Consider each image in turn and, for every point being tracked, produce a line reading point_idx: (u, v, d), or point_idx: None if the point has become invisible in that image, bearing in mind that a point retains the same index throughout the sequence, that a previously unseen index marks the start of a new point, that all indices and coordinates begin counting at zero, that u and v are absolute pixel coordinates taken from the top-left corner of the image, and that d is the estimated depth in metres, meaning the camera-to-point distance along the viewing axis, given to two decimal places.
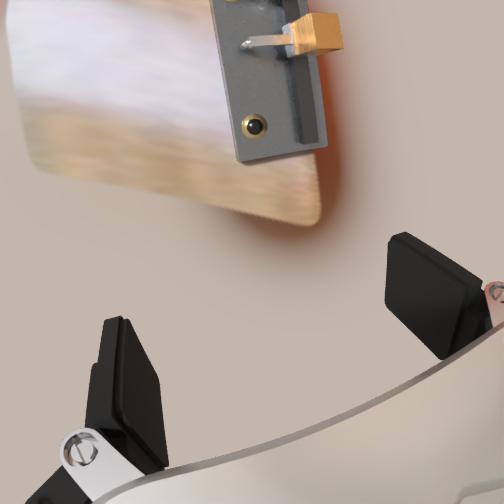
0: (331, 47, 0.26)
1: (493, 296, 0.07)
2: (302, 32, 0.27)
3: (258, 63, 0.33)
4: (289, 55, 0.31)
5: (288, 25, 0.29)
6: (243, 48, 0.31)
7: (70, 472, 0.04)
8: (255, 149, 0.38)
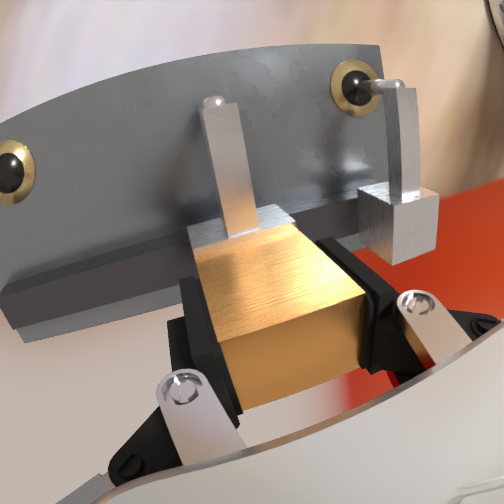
0: (235, 382, 0.08)
1: (409, 309, 0.07)
2: (273, 265, 0.10)
3: (164, 155, 0.14)
4: (192, 232, 0.13)
5: (285, 219, 0.12)
6: (200, 104, 0.12)
7: (174, 410, 0.06)
8: None
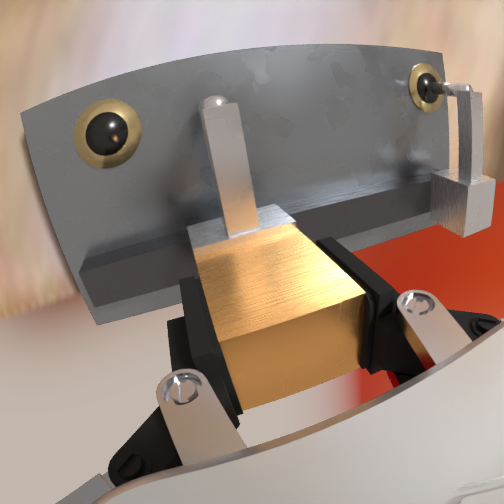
0: (235, 381, 0.08)
1: (409, 309, 0.07)
2: (273, 265, 0.10)
3: (278, 130, 0.15)
4: (192, 232, 0.13)
5: (286, 219, 0.12)
6: (200, 104, 0.12)
7: (174, 410, 0.06)
8: (51, 146, 0.12)
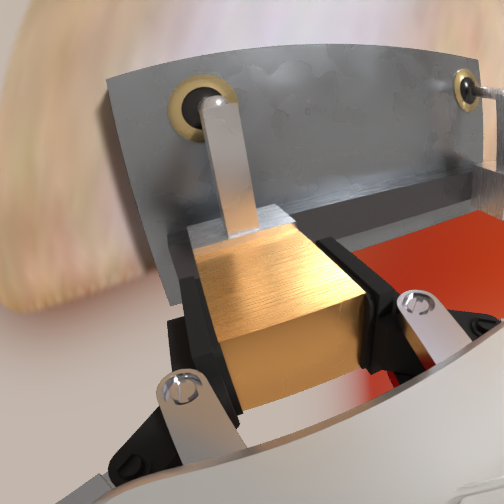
0: (235, 382, 0.08)
1: (409, 309, 0.07)
2: (273, 265, 0.10)
3: (356, 119, 0.15)
4: (192, 232, 0.13)
5: (286, 219, 0.12)
6: (200, 104, 0.12)
7: (174, 410, 0.06)
8: (141, 116, 0.13)
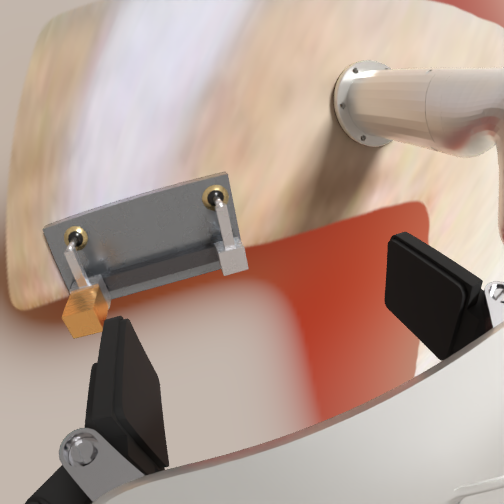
0: (68, 328, 0.30)
1: (493, 296, 0.07)
2: (83, 299, 0.32)
3: (137, 233, 0.37)
4: (73, 284, 0.35)
5: (96, 282, 0.34)
6: (70, 242, 0.34)
7: (70, 472, 0.04)
8: (56, 242, 0.34)
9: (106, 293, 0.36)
